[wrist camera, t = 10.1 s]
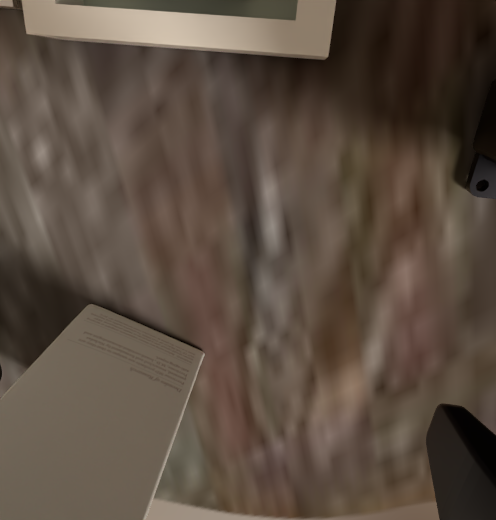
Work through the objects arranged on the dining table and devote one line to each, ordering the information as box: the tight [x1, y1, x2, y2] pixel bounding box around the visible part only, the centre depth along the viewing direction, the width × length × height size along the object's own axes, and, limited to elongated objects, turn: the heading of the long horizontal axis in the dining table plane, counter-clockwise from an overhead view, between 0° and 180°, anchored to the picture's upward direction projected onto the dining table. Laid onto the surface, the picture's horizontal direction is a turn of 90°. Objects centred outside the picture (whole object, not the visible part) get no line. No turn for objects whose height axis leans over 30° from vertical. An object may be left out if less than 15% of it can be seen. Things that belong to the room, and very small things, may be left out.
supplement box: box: [0, 304, 205, 520], centre depth 18 cm, size 7×7×13 cm
